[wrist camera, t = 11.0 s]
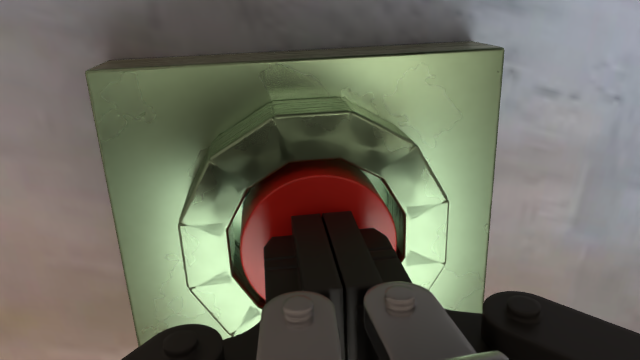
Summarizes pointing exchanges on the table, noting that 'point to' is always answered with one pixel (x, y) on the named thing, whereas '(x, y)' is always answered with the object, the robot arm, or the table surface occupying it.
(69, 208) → the table surface
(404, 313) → the robot arm
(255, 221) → the button
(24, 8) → the table surface
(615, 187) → the table surface
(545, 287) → the table surface
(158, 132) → the box
